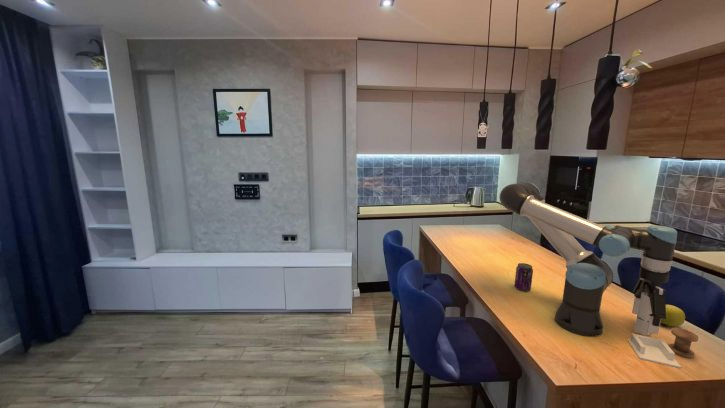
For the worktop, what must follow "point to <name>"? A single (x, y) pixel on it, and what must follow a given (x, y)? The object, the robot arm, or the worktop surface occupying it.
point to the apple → (673, 316)
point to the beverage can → (523, 277)
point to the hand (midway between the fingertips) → (644, 322)
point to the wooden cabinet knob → (683, 342)
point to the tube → (643, 314)
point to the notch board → (653, 350)
